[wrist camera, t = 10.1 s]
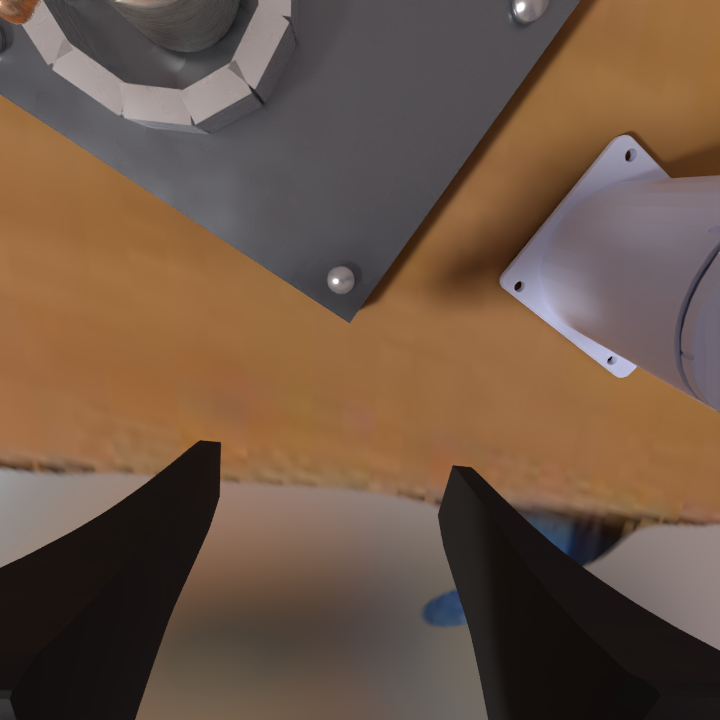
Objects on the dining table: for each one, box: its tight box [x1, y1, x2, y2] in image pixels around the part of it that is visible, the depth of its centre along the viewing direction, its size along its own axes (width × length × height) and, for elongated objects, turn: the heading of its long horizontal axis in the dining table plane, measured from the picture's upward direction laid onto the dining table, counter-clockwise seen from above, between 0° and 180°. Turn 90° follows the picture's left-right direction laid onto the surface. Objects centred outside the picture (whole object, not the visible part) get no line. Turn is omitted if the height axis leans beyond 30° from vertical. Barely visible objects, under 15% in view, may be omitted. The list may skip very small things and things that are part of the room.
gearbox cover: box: [0, 0, 580, 323], centre depth 14 cm, size 18×15×4 cm
